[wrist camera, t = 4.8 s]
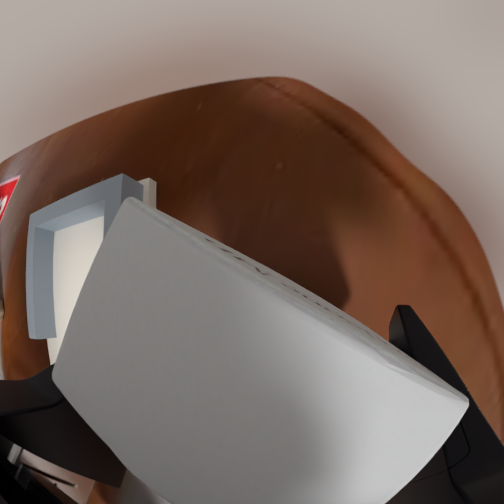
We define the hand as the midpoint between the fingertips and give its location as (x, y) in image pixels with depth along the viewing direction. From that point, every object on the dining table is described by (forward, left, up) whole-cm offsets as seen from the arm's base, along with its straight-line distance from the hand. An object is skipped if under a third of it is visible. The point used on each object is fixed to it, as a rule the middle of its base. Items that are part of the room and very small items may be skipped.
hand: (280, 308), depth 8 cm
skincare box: (0, -1, -7) cm, 7 cm away
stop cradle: (-16, +3, -8) cm, 18 cm away
